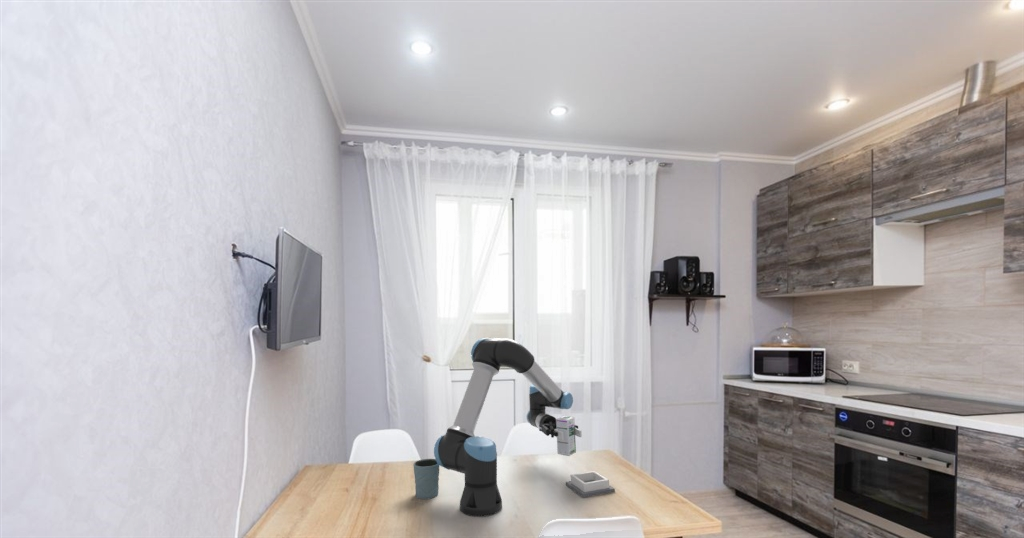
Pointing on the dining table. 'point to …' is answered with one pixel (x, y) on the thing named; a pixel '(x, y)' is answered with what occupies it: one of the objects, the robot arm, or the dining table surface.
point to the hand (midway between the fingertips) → (571, 435)
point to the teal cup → (426, 478)
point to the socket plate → (589, 484)
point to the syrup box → (566, 435)
